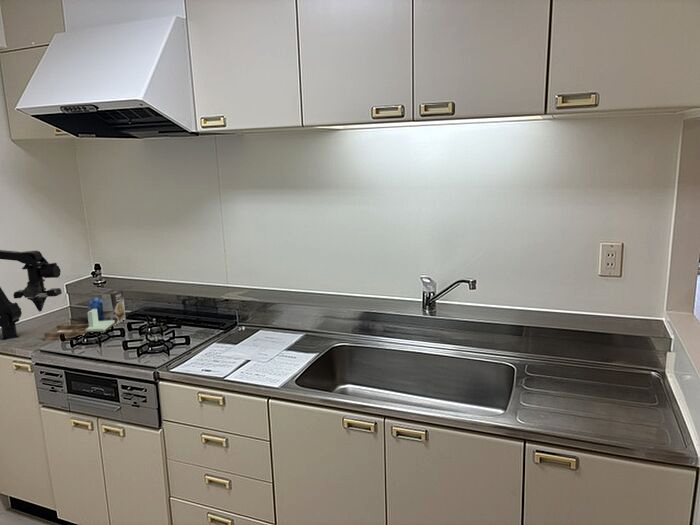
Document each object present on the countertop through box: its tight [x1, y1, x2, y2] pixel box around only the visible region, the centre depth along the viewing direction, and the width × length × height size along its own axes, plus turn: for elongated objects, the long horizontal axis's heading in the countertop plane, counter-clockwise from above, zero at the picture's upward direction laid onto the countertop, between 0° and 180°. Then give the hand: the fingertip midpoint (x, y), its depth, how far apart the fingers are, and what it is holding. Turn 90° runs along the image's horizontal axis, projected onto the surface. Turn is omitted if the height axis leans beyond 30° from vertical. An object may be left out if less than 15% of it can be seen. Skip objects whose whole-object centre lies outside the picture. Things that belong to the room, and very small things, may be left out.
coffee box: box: [101, 289, 126, 326], centre depth 258 cm, size 9×6×16 cm
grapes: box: [88, 296, 104, 321], centre depth 263 cm, size 12×7×12 cm, turn 80°
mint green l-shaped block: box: [85, 309, 115, 331], centre depth 241 cm, size 8×14×8 cm, turn 5°
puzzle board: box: [43, 323, 116, 341], centre depth 241 cm, size 26×16×3 cm, turn 95°
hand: (40, 311), depth 237 cm, fingers closed
